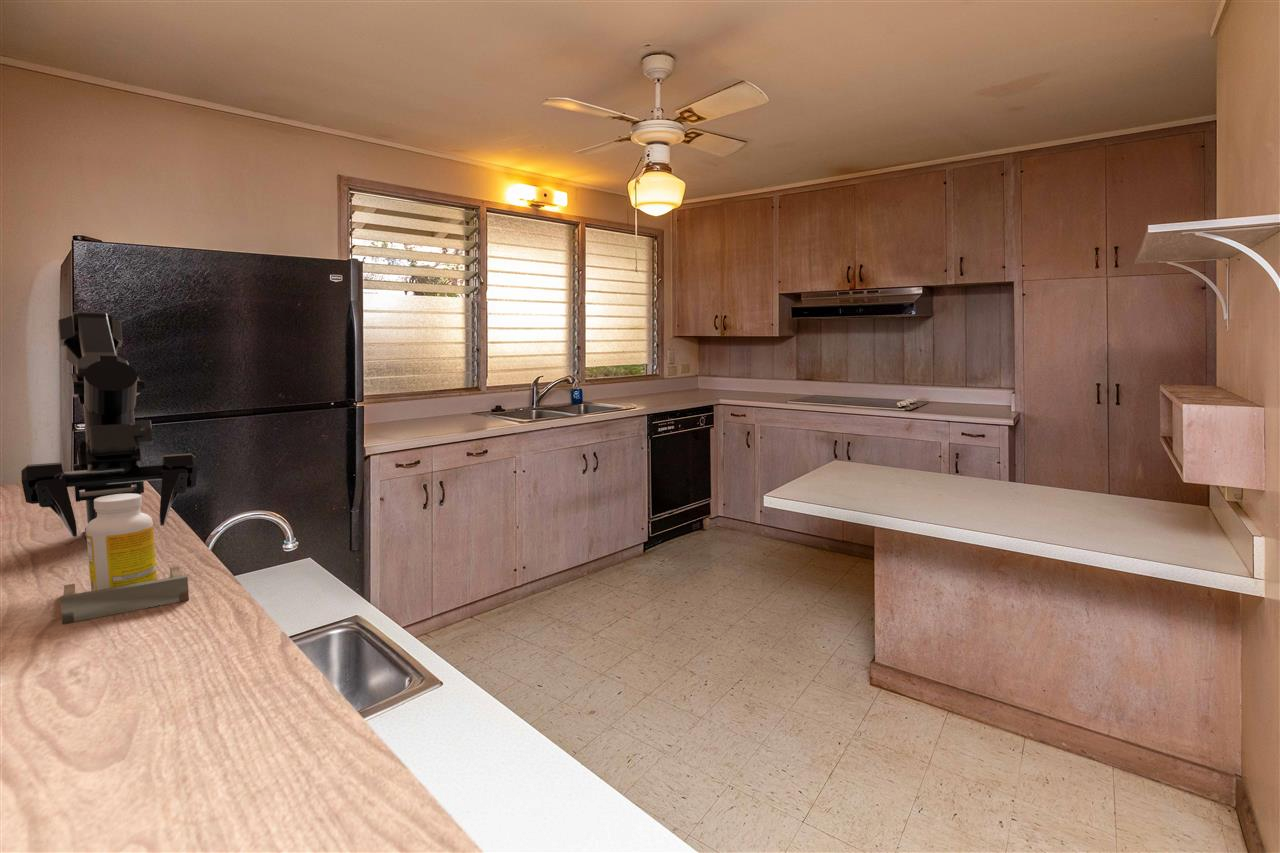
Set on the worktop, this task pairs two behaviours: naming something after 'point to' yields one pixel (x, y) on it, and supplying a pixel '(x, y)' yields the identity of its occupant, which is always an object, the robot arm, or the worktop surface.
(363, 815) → the worktop surface
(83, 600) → the u-shaped frame
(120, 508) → the supplement bottle
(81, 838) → the worktop surface
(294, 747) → the worktop surface
